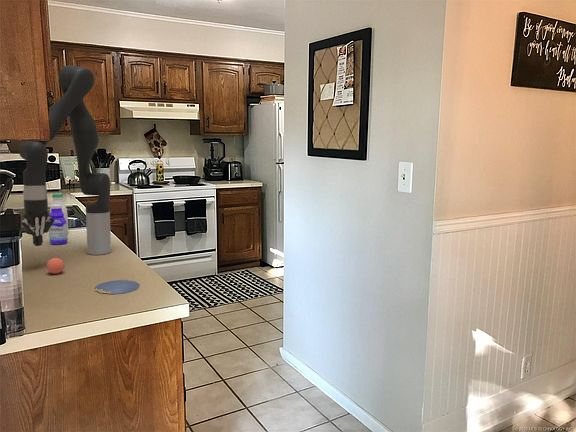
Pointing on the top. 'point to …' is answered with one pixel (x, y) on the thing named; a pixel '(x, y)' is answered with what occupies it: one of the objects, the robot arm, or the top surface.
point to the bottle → (58, 226)
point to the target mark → (118, 286)
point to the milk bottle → (59, 201)
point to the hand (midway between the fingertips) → (38, 245)
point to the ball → (55, 265)
